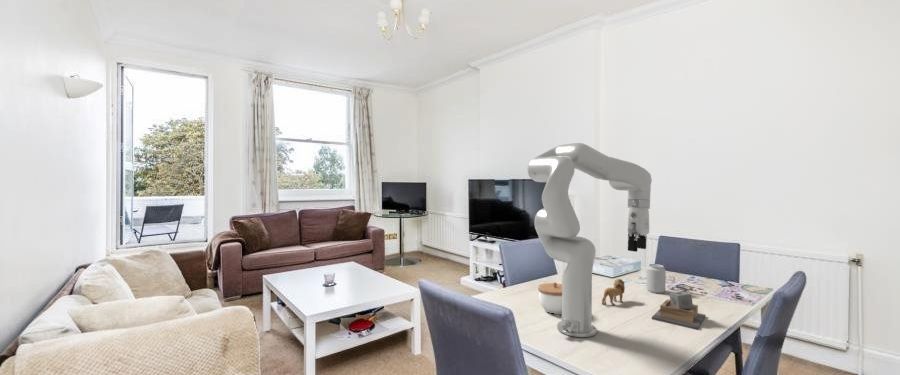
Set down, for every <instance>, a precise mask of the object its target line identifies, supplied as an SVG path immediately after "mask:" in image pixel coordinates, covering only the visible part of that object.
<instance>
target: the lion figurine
mask: <svg viewBox="0 0 900 375" xmlns="http://www.w3.org/2000/svg"><path fill="white" fill-rule="evenodd" d="M625 288H626V287H625V281H624V280H622V279H621V278H616V279H615V280H614V282H613V287H606V288H605V289H604V292H603V293H604V294H603V296H602V299H601V305H603V306H607V302H606V301H607V297H609V303H610V304H611V305H612V306H616V304H615V303H614V302H617V297H618V296H619V303H624V301H623V296H624V295H623V294H624V293H625Z"/></svg>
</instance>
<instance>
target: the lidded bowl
mask: <svg viewBox="0 0 900 375" xmlns="http://www.w3.org/2000/svg"><path fill="white" fill-rule="evenodd" d="M537 290H538V300H539V304H540V306H541V307H542V308H543V309H544V311H545V310H546V311H547V312H546V311H545V312H546V313H548V312H549V313H548V314H551V313H554V314H553V315H562V283H557V282H556V281H555V282H549V283H548V282H546V283H541V284H539V285H538V287H537Z"/></svg>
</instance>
